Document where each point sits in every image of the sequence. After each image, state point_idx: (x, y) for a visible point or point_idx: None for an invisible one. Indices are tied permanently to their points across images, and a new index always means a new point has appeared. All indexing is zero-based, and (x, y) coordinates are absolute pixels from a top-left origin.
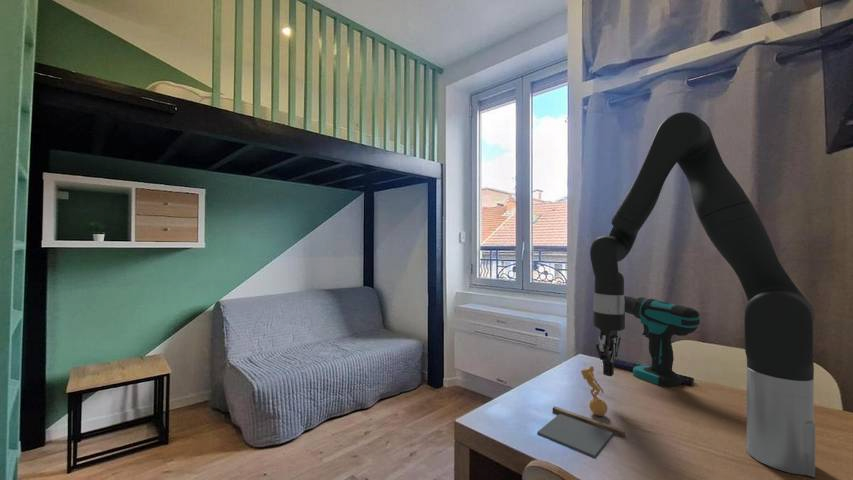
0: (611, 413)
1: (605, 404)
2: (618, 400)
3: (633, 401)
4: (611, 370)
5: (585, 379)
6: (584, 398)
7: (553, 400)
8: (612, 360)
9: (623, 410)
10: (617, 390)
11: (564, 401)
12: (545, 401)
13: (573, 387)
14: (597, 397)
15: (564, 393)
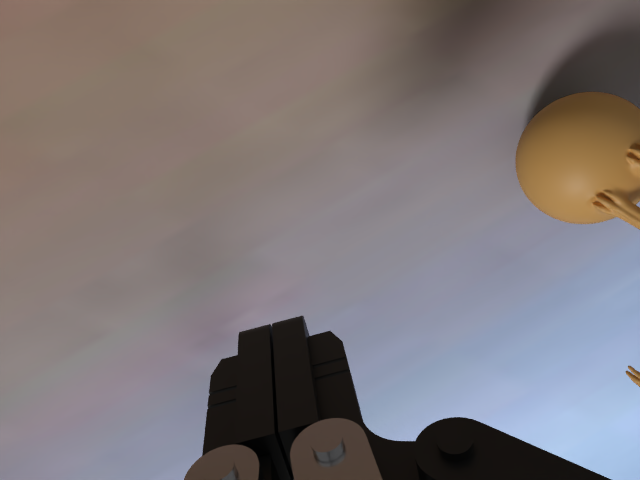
0: (452, 107)
1: (605, 114)
2: (184, 206)
3: (80, 135)
4: (308, 356)
5: (630, 373)
6: (381, 336)
7: (573, 397)
8: (345, 441)
9: (323, 87)
10: (10, 313)
11: (534, 362)
12: (623, 407)
13: None
14: (610, 194)
15: None
